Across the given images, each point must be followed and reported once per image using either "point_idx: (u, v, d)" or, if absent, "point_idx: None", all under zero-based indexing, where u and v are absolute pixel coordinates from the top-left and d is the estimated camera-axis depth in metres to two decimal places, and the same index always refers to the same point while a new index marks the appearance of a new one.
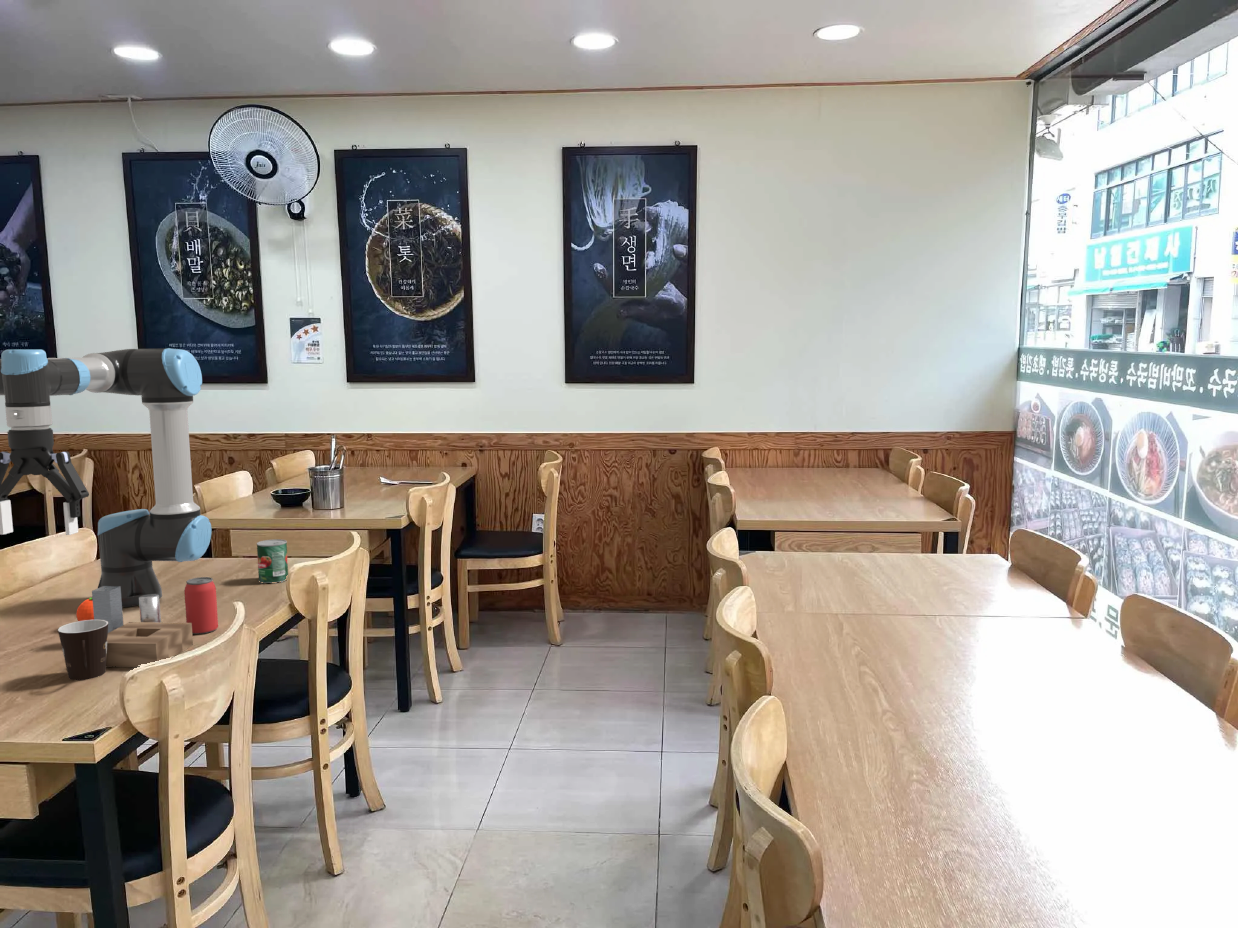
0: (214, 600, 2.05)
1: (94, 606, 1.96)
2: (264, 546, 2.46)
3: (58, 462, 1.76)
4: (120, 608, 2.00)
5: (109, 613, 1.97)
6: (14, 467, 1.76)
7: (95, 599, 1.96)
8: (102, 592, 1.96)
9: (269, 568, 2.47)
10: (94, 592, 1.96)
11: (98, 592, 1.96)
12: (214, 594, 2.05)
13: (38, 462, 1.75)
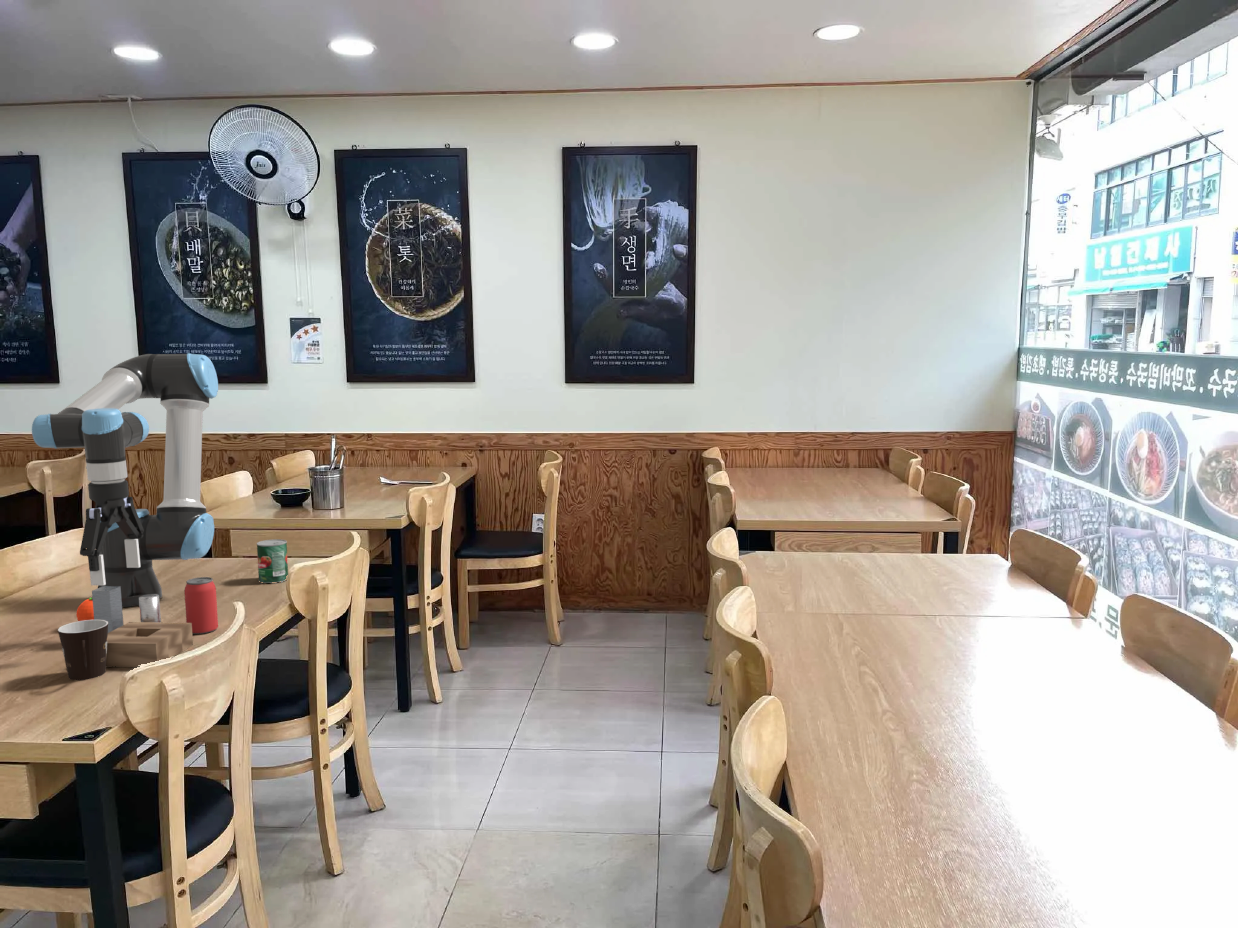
0: (214, 600, 2.05)
1: (94, 606, 1.96)
2: (264, 546, 2.46)
3: None
4: (120, 608, 2.00)
5: (109, 613, 1.97)
6: None
7: (95, 599, 1.96)
8: (102, 592, 1.96)
9: (269, 568, 2.47)
10: (94, 592, 1.96)
11: (98, 592, 1.96)
12: (214, 594, 2.05)
13: None
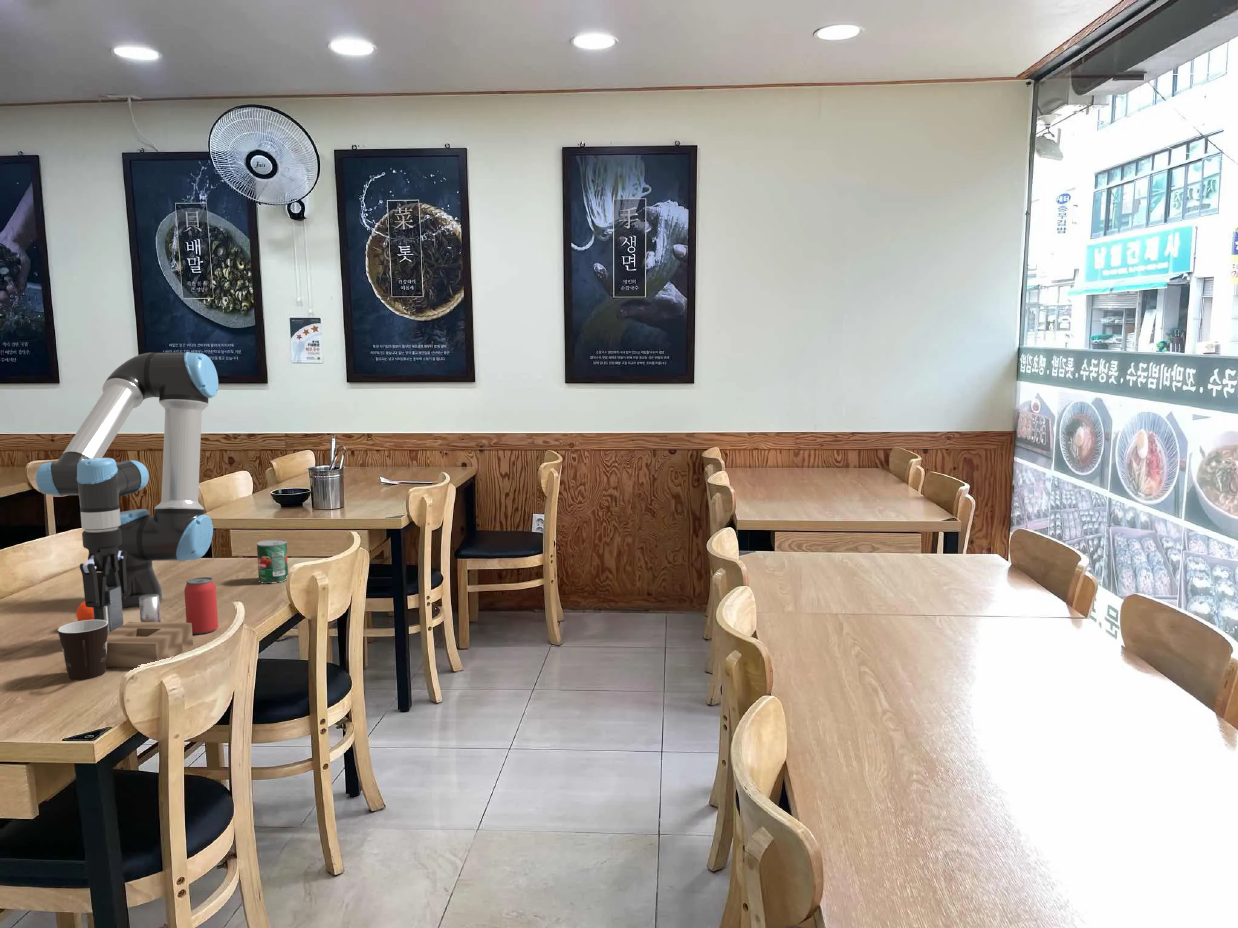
0: (214, 600, 2.05)
1: None
2: (264, 546, 2.46)
3: None
4: (120, 608, 2.00)
5: (109, 613, 1.97)
6: None
7: None
8: None
9: (269, 568, 2.47)
10: None
11: None
12: (214, 594, 2.05)
13: None
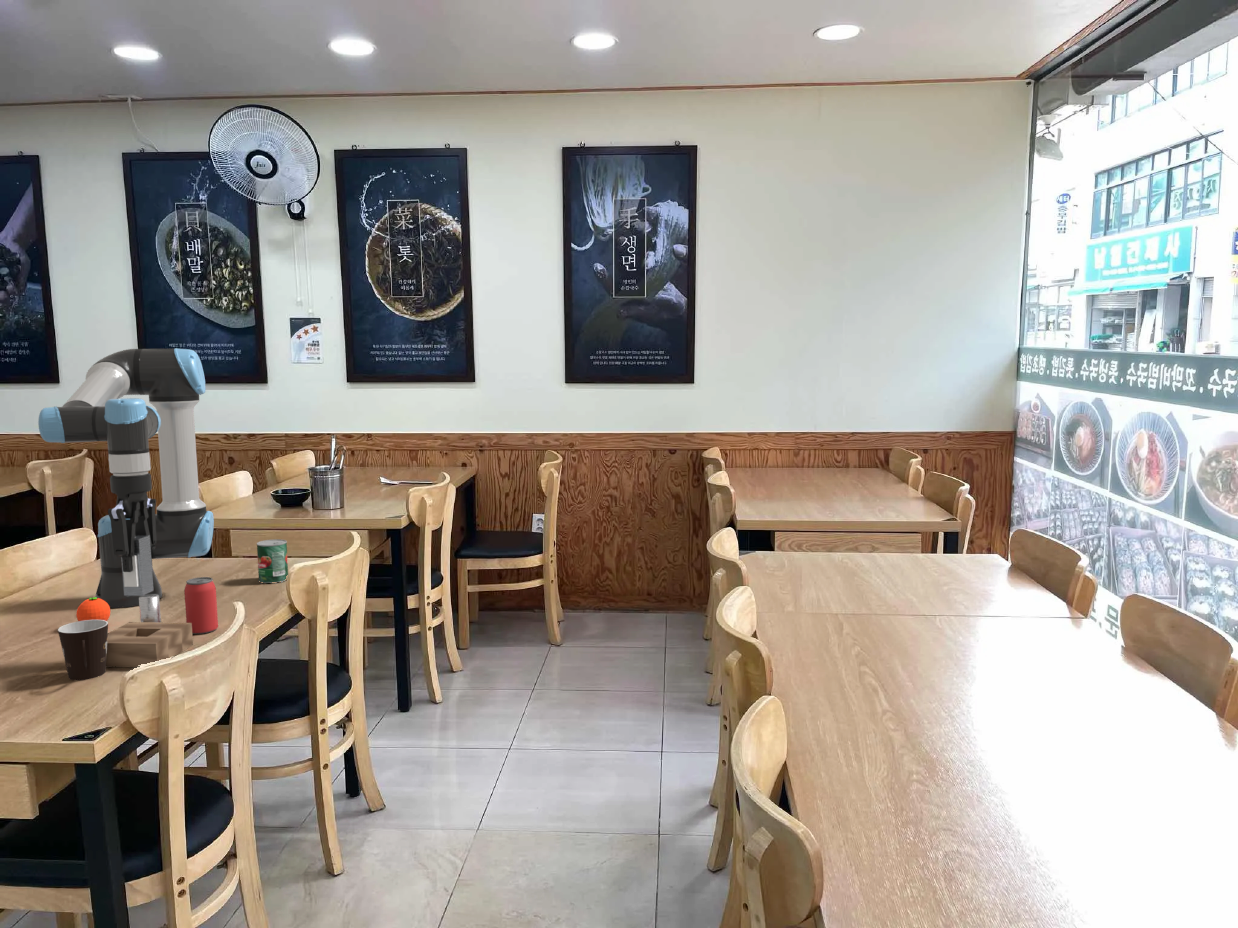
0: (214, 600, 2.05)
1: None
2: (264, 546, 2.46)
3: None
4: (149, 558, 1.89)
5: (138, 563, 1.85)
6: None
7: None
8: None
9: (269, 568, 2.47)
10: None
11: None
12: (214, 594, 2.05)
13: None
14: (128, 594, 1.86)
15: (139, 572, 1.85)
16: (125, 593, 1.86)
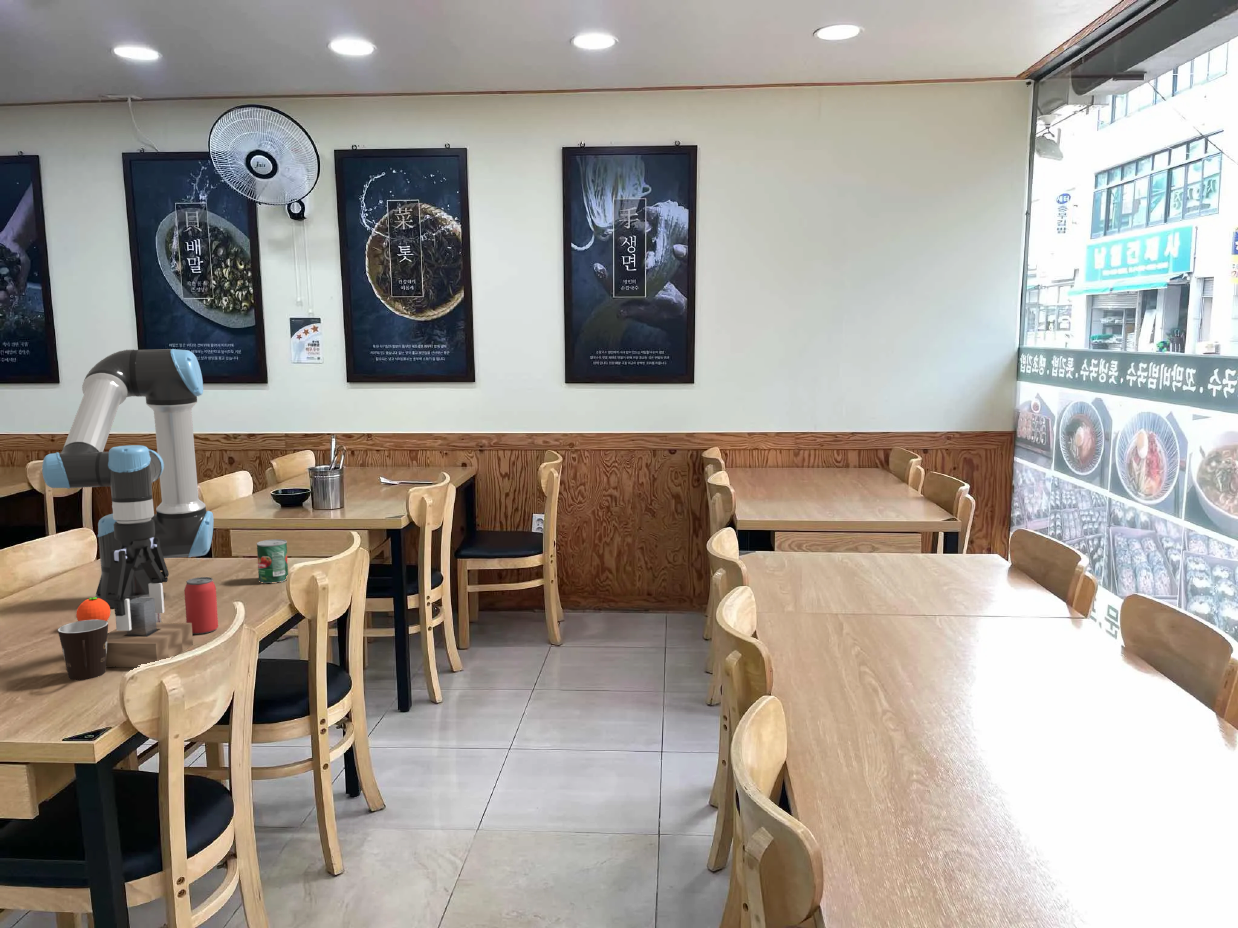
0: (214, 600, 2.05)
1: None
2: (264, 546, 2.46)
3: None
4: (154, 621, 1.90)
5: (143, 626, 1.87)
6: None
7: None
8: (136, 604, 1.87)
9: (269, 568, 2.47)
10: None
11: (131, 604, 1.87)
12: (214, 594, 2.05)
13: None
14: None
15: (144, 635, 1.87)
16: None
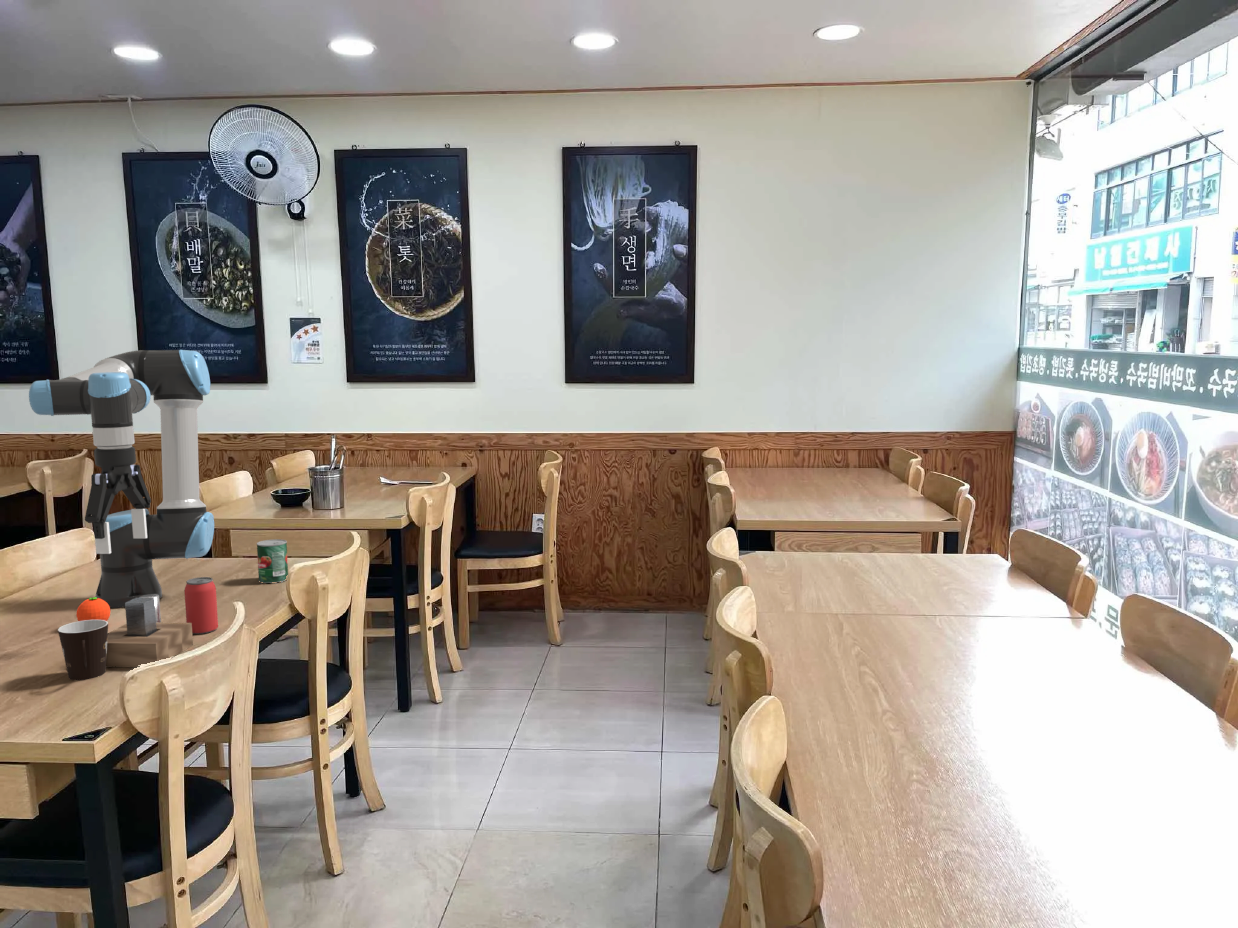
0: (214, 600, 2.05)
1: (127, 619, 1.87)
2: (264, 546, 2.46)
3: None
4: (154, 621, 1.90)
5: (143, 626, 1.87)
6: None
7: (128, 612, 1.87)
8: (136, 604, 1.87)
9: (269, 568, 2.47)
10: (127, 604, 1.87)
11: (132, 604, 1.87)
12: (214, 594, 2.05)
13: None
14: None
15: (144, 635, 1.87)
16: None
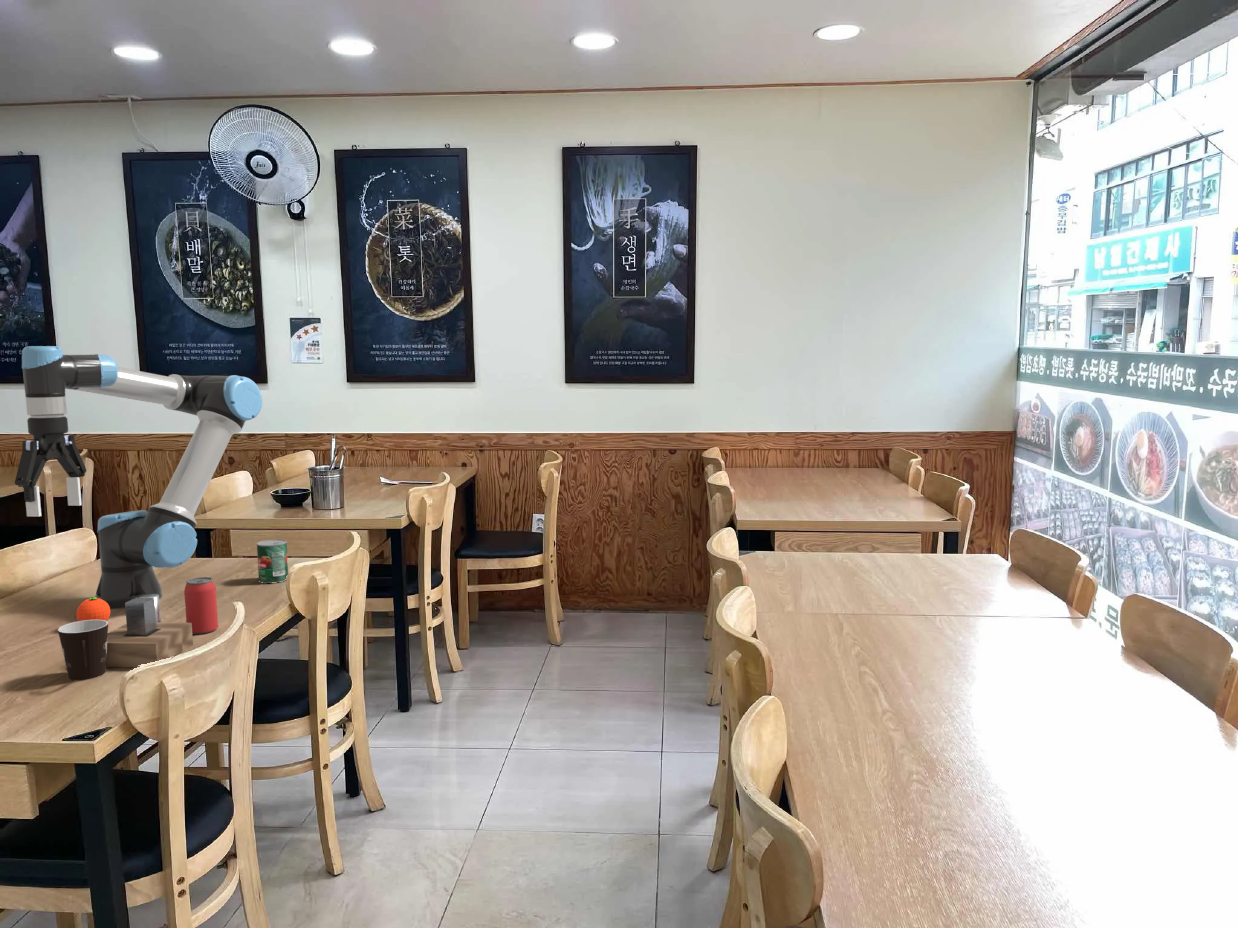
0: (214, 600, 2.05)
1: (127, 619, 1.87)
2: (264, 546, 2.46)
3: None
4: (154, 621, 1.90)
5: (143, 626, 1.87)
6: None
7: (128, 612, 1.87)
8: (136, 604, 1.87)
9: (269, 568, 2.47)
10: (127, 604, 1.87)
11: (132, 604, 1.87)
12: (214, 594, 2.05)
13: None
14: None
15: (144, 635, 1.87)
16: None
